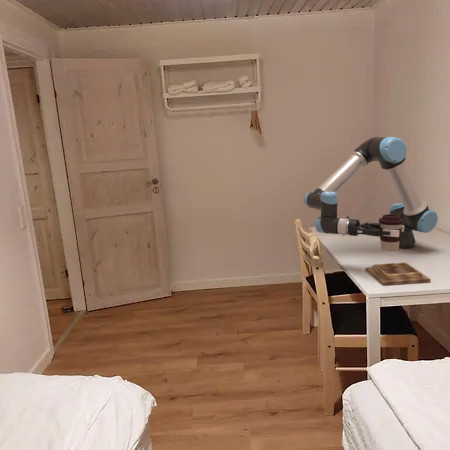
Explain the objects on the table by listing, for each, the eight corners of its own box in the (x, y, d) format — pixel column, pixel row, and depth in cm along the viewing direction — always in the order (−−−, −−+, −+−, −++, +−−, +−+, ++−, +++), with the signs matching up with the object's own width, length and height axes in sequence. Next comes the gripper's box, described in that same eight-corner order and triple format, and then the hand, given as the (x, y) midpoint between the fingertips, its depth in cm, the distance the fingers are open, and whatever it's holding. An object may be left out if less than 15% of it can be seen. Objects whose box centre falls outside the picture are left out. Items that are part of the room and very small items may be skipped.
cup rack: (408, 267, 201) (408, 260, 200) (430, 282, 182) (430, 274, 181) (365, 270, 200) (365, 263, 200) (383, 285, 181) (383, 277, 180)
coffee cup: (405, 251, 187) (407, 217, 183) (382, 253, 186) (384, 218, 183) (396, 245, 196) (397, 212, 193) (374, 246, 196) (375, 214, 193)
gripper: (356, 229, 209) (406, 234, 196) (341, 240, 191) (395, 245, 179) (356, 214, 207) (407, 217, 195) (341, 224, 190) (395, 228, 177)
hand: (401, 231), depth 187 cm, fingers closed on coffee cup, 9 cm apart
